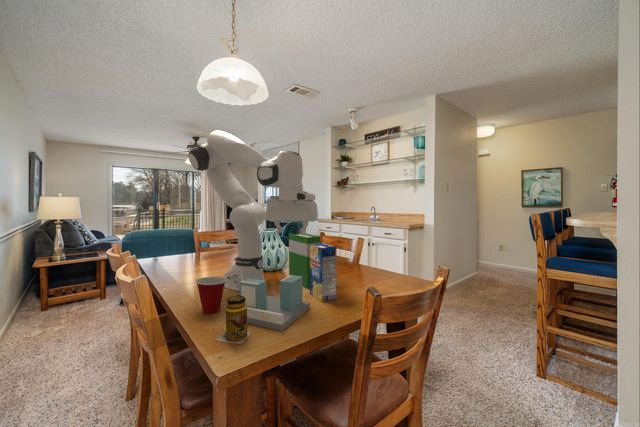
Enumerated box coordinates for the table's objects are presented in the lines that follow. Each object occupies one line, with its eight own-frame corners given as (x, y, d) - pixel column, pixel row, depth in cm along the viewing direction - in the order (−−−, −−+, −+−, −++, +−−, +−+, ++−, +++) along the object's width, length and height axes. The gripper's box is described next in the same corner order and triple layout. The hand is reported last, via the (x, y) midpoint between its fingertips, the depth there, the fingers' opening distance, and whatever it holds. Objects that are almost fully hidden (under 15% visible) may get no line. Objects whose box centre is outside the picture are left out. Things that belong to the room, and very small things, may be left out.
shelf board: (231, 319, 92) (231, 305, 92) (265, 300, 110) (265, 288, 110) (281, 331, 84) (281, 315, 84) (309, 307, 102) (309, 294, 102)
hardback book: (289, 279, 139) (288, 233, 138) (301, 277, 143) (301, 232, 142) (307, 289, 124) (307, 237, 123) (320, 286, 128) (320, 236, 127)
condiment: (242, 344, 77) (241, 302, 76) (214, 341, 78) (214, 301, 77) (252, 331, 84) (252, 294, 83) (227, 329, 85) (226, 292, 85)
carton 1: (239, 309, 96) (238, 281, 95) (248, 304, 100) (248, 277, 100) (257, 313, 92) (257, 284, 92) (266, 308, 97) (266, 280, 97)
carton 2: (290, 300, 105) (290, 274, 104) (302, 302, 102) (302, 276, 102) (279, 308, 97) (279, 280, 97) (292, 310, 95) (292, 282, 95)
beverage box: (322, 302, 108) (322, 248, 107) (309, 294, 118) (309, 244, 116) (336, 299, 111) (336, 246, 110) (323, 291, 121) (323, 243, 120)
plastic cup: (232, 310, 100) (232, 278, 99) (203, 319, 92) (203, 285, 91) (219, 302, 107) (218, 273, 107) (191, 311, 100) (190, 279, 99)
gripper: (262, 195, 99) (262, 232, 100) (312, 195, 91) (312, 235, 92) (271, 196, 105) (272, 231, 106) (319, 195, 97) (319, 233, 97)
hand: (291, 233), depth 99 cm, fingers open, 8 cm apart
